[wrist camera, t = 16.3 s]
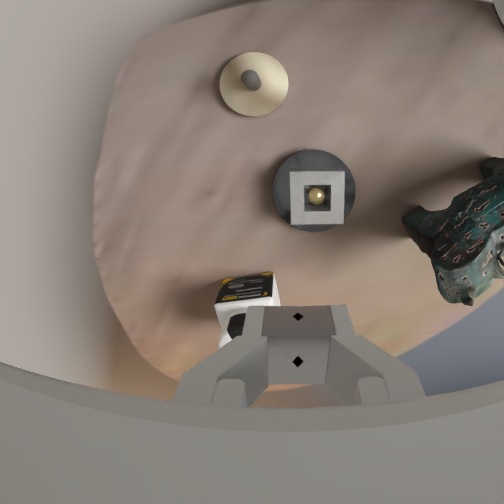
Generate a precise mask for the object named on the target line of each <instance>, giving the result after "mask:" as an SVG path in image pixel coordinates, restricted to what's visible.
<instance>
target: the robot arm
mask: <svg viewBox="0 0 504 504" xmlns="http://www.w3.org/2000/svg"><path fill="white" fill-rule="evenodd" d="M493 2H494V6H495V8H496V11H497V13H498V16H499V18H500V20H501V22H502V23H503V25H504V0H493ZM273 384H325V386H326V387H327V388H328V389H329V390H330V391H331V392H332V394H333V395H334V396H335V397H336V398H337V399H338V400H339V401H340V403H341V404H342V405H343V406H332V407H303V408H271V407H250V406H251V405H252V404H253V403H254V402H255V401H256V400H257V398H258V397H259V396H260V395H261V394H262V393H263V392H264V390H265V389H266V388H267V387H268V385H273ZM0 504H504V380H503V381H500V382H496V383H492V384H488V385H484V386H479V387H475V388H470V389H466V390H461V391H456V392H451V393H446V394H440V395H434V396H429V397H426V396H425V393H424V391H423V388H422V386H421V384H420V381H419V379H418V376H417V374H416V372H415V371H414V370H412V369H411V368H409V367H408V366H406V365H405V364H403V363H402V362H400V361H399V360H397V359H396V358H394V357H393V356H391V355H390V354H388V353H387V352H385V351H384V350H382V349H381V348H379V347H378V346H376V345H375V344H373V343H372V342H370V341H369V340H367V339H366V338H364V337H363V336H361V335H360V334H359V335H355V332H354V328H353V325H352V322H351V318H350V315H349V312H348V309H347V306H346V305H345V304H342V305H326V306H302V307H297V306H248V307H247V312H246V317H245V322H244V327H243V332H242V336H236V337H235V338H234V339H232V340H231V341H229V342H228V343H227V344H225V345H224V346H222V347H221V348H220V349H218V350H217V351H215V352H214V353H212V354H211V355H210V356H208V357H207V358H205V359H204V360H202V361H201V362H200V363H198V364H197V365H195V366H194V367H192V368H191V369H189V370H188V371H187V372H185V373H184V374H182V377H181V379H180V382H179V385H178V387H177V390H176V393H175V395H174V398H173V401H170V400H162V399H155V398H148V397H141V396H135V395H129V394H124V393H118V392H112V391H107V390H102V389H98V388H93V387H88V386H84V385H79V384H75V383H71V382H67V381H63V380H59V379H55V378H51V377H47V376H44V375H40V374H37V373H33V372H30V371H26V370H23V369H20V368H17V367H14V366H11V365H8V364H5V363H2V362H0Z"/></svg>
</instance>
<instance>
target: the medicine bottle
mask: <svg viewBox="0 0 504 504" xmlns="http://www.w3.org/2000/svg"><path fill="white" fill-rule="evenodd" d="M248 306H281V305H280V300H279V295H278V290H277V285H276V280H275V275H274V273H273V272H269V273H262V274H255V275H249V276H242V277H235V278H228V279H224V280H223V283H222V285H221V288H220V291H219V294H218V297H217V299H216V302H215V305H214V307H215V310H216V314H217V317H218V320H219V323H220V326H221V330H222V331H221V334H220V338H219V341H218V347H219V349H220V348H221V347H222V346H224V345H225V344H227V343H228V342H229V341H231V340H232V339H234V338H235V337H236V336H242V332H243V327H244V322H245V317H246V312H247V307H248Z"/></svg>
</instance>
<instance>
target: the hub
mask: <svg viewBox="0 0 504 504" xmlns="http://www.w3.org/2000/svg"><path fill="white" fill-rule="evenodd" d="M289 168H341V169H342V170H343V171H345V187H344V219H345V217H346V216H347V215H348V213H349V212H350V210H351V208H352V206H353V203H354V199H355V183H354V179H353V176H352V174H351V172H350V170H349V169H348V167H347V166H346V165H345V164H344V163H343V162H342V161H341V160H340V159H339V158H337V157H336V156H334V155H333V154H331V153H328V152H326V151H322V150H316V149H310V150H304V151H300V152H297V153H295V154H293V155H291V156H290V157H289V158H287V159H286V160H285V161H284V162H283V163H282V164H281V166H280V167H279V169H278V170H277V172H276V175H275V178H274V181H273V200H274V204H275V206H276V209H277V211H278V212H279V214H280V215H281V216H282V218H283V219H284V220H285V221H286V222H287V223H289V224H290V225H291V217H290V178H289ZM327 194H328V185H304V205H327ZM336 225H338V224H299V225H292V226H293V227H295V228H298V229H300V230H304V231H309V232H319V231H324V230H328V229H330V228H332V227H334V226H336Z"/></svg>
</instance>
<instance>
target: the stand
mask: <svg viewBox="0 0 504 504" xmlns="http://www.w3.org/2000/svg"><path fill="white" fill-rule="evenodd" d="M220 92H221V95H222V97H223V99H224V101H225V102H226V104H227V105H228V106H229V107H230V108H231V109H233V110H234V111H236V112H238V113H240V114H243V115H247V116H262V115H266V114H268V113H271V112H272V111H274V110H275V109H277V108H278V107H279V106H280V105H281V104H282V102H283V101H284V99H285V97H286V95H287V92H288V76H287V73H286V71H285V69H284V67H283V66H282V65H281V64H280V62H279V61H277V60H276V59H275V58H273V57H272V56H270V55H267V54H264V53H260V52H249V53H244V54H241V55H239V56H237V57H235V58H234V59H232V60H231V61H230V62H229V63H228V64H227V65H226V66H225V68H224V70H223V71H222V74H221V77H220Z"/></svg>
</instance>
